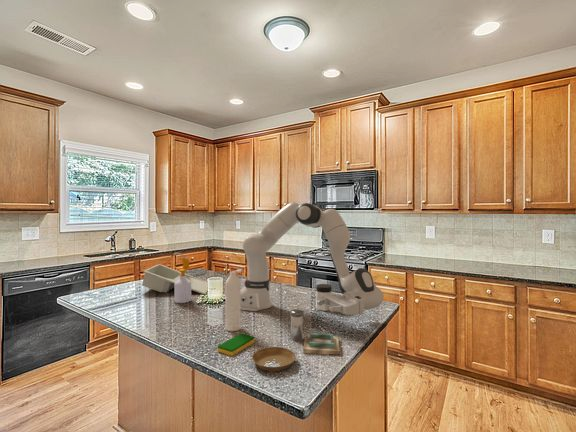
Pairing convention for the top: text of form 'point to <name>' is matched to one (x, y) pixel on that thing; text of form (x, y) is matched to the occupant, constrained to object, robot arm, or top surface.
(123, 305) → the top surface
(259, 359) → the plant saucer
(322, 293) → the jar
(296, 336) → the salt shaker
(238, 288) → the white spray bottle
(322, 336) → the post base
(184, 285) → the soap bottle
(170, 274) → the kitchen sink
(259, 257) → the robot arm
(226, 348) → the dish sponge
